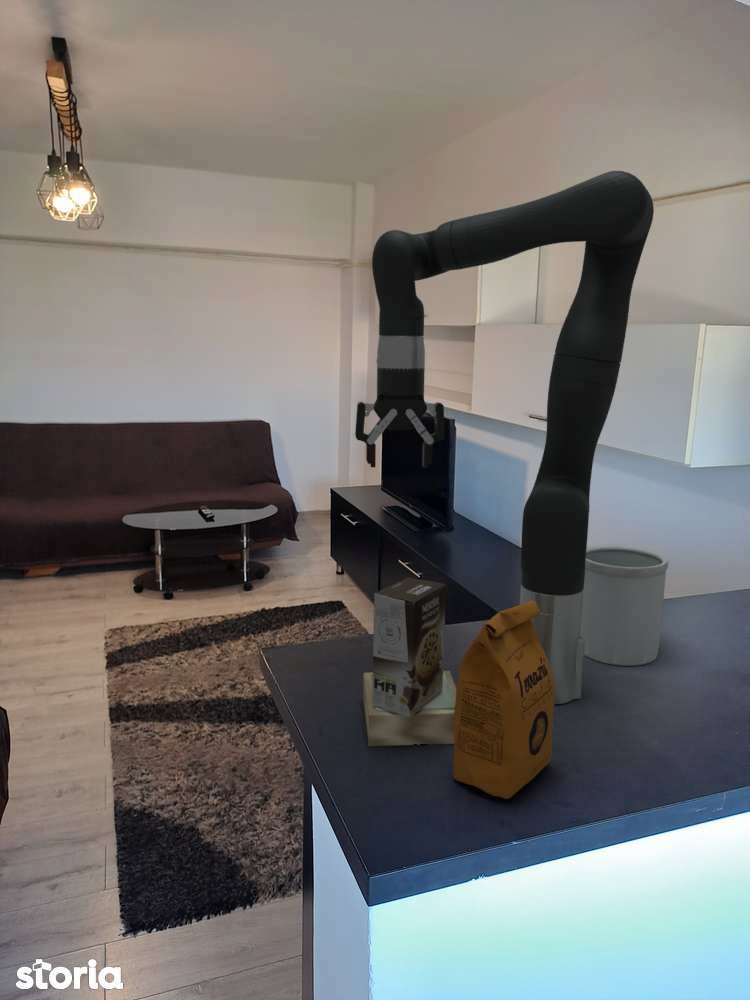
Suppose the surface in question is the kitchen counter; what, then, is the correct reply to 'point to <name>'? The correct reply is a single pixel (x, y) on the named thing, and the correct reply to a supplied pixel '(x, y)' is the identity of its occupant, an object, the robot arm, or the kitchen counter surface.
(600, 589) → the utensil holder
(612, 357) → the robot arm
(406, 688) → the coffee box
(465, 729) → the coffee package
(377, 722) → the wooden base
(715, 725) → the kitchen counter surface
